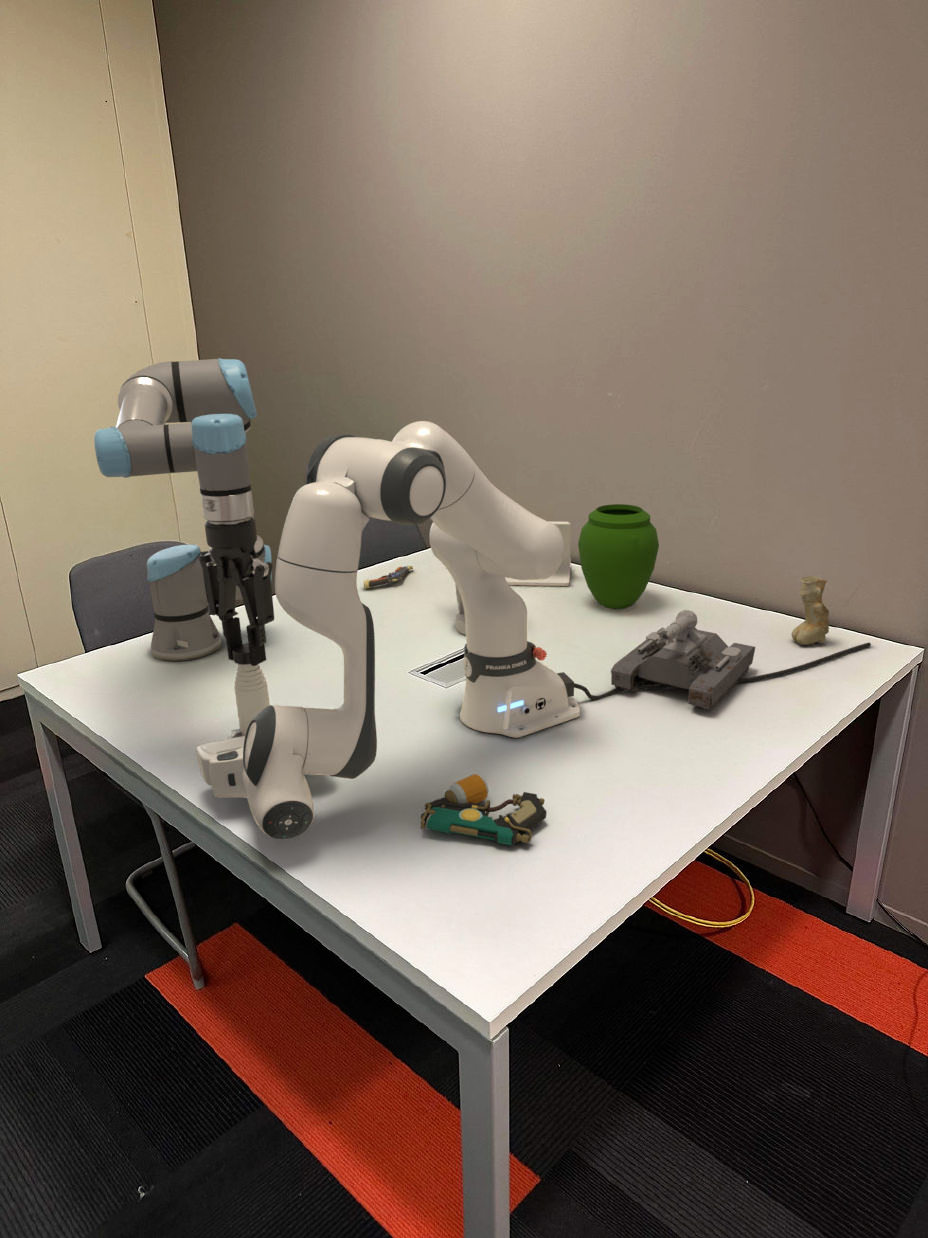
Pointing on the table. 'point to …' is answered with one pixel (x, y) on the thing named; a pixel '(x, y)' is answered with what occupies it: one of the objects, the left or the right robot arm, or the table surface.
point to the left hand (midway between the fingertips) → (247, 659)
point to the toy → (685, 662)
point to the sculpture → (812, 612)
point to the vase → (618, 554)
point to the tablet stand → (563, 572)
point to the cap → (241, 654)
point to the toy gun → (388, 577)
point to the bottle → (250, 694)
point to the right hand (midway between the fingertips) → (255, 729)
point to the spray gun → (482, 813)
